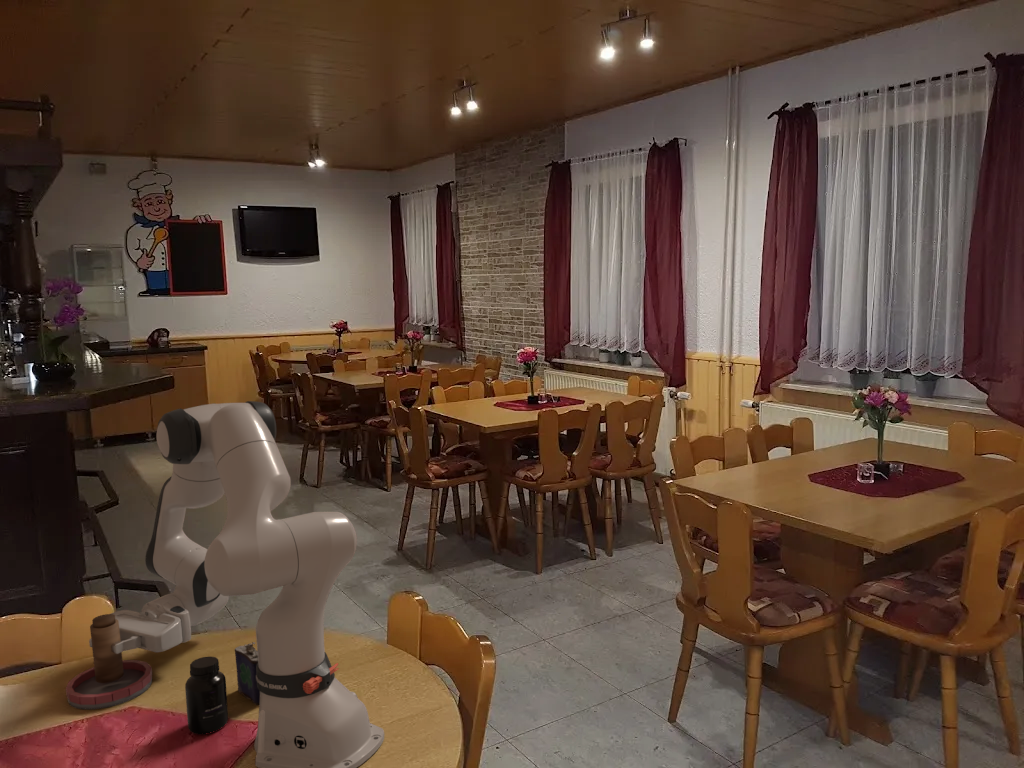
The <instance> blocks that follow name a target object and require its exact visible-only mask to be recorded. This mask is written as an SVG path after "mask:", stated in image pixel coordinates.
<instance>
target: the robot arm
mask: <svg viewBox="0 0 1024 768" xmlns="http://www.w3.org/2000/svg"><path fill="white" fill-rule="evenodd" d="M274 414H275V413H274V412H273V410H272V409H271V408H270V407H269V406H268V405H267V404H266V403H265V402H261V401H251V400H248V401H245V402H223V403H222V402H221V403H209V404H201V405H198V406H192V407H188V408H184V409H182V408H177V409H174V410H171V411H168V412H166V413H164V414H163V415H162V416H161V418H160V419H159V421H158V423H157V427H156V429H157V430H156V443H157V447H158V449H159V451H160V453H161V455H162V457H163V458H164V459H165V460H166V461H167V462H169V463H170V464H172V474H171V476H169V478H167V479H166V480H165V481H164V484H163V485H162V487H161V490H160V493H159V497H158V502H157V508H156V513H155V519H154V523H153V530H152V534H151V539H150V541H149V544H148V546H147V548H146V551H145V558H144V560H145V566H146V568H147V570H148V571H149V572H150V573H152V574H153V575H156V576H157V577H160V578H162V579H165V580H166V581H168V582H169V583H171V584H173V585H175V586H174V590H173V592H171V593H167V594H165V595H163V596H160V597H158V598H155V599H153V600H151V601H149V602H147V603H145V604H144V605H143V606H142V609H141V611H140V612H138V611H134V610H130V609H123V610H117V611H114V612H112V613H110V614H113V615H115V619H117V620H118V621H119V631H120V641H117V642H115V643H113V644H112V645H111V652H113V653H116V654H118V653H120V652H125V651H130V650H135V649H141V650H145V651H150V652H152V653H153V652H154V653H161V652H165V651H168V650H170V649H172V648H174V647H176V646H179V645H180V644H181V643H182V644H183V643H187V642H189V641H191V639H192V628H191V627H194V626H195V627H196V626H197V625H199V624H201V623H203V622H205V621H207V620H209V619H211V618H212V617H214V616H215V615H217V614H218V613H219V612H220V611H221V610H223V609H224V607H225V606H226V605H227V604H228V601H229V599H230V597H237V596H248V595H255V594H260V593H262V592H266V591H270V590H274V589H276V588H280V587H281V588H282V589H281V590H280V592H279V594H278V595H277V596H276V598H275V599H274V600H273V601H272V602H271V603H270V604H268V606H266V607H265V608H264V609H263V611H262V612H261V613H260V615H259V617H258V619H257V622H256V625H255V637H256V651H257V652H258V664H257V666H256V680H257V687H258V689H259V691H260V703H259V705H258V722H257V731H256V737H255V740H254V745H253V747H254V750H255V752H256V756H255V767H257V768H358V767H360V766H361V765H362V764H364V763H365V762H366V761H368V760H369V758H371V757H372V756H373V755H374V754H375V753H376V752H377V750H379V748H380V747H381V746H382V744H383V742H384V740H385V730H384V729H383V727H380V726H378V725H375V724H373V723H372V722H370V716H369V712H368V709H367V707H366V704H365V703H364V702H363V701H362V700H360V699H359V698H358V695H357V694H356V692H354V691H351V690H349V688H347V687H346V686H345V685H344V684H343V683H342V682H341V681H339V679H337V677H336V675H335V673H336V671H338V670H339V669H340V668H339V667H338V666H339V663H338V662H337V663H335V664H334V665H332V663H331V661H330V659H329V657H328V654H327V653H326V650H325V628H324V627H325V624H324V623H325V622H324V621H325V611H326V606H327V602H328V599H329V595H330V592H331V591H332V588H333V586H334V584H335V582H336V581H337V579H338V577H339V575H340V574H341V572H342V571H343V570H344V569H345V568H346V567H347V566H348V564H349V563H351V561H352V560H353V559H354V556H355V553H356V551H357V546H358V545H357V544H358V537H357V532H356V529H355V527H354V524H353V523H352V521H351V520H350V519H349V517H347V516H346V514H344V513H342V512H340V511H313V512H308V513H302V514H298V515H294V516H290V517H286V518H278V519H276V518H274V517H273V515H272V511H273V510H275V509H276V508H277V507H279V506H280V505H281V504H282V503H283V502H284V500H286V498H287V497H288V495H289V493H290V490H291V484H292V482H291V481H292V479H291V476H290V473H289V471H288V469H287V467H286V465H285V462H284V459H283V457H282V455H281V452H280V450H279V447H278V445H277V443H276V437H277V422H276V417H275V415H274ZM223 496H225V500H226V506H227V514H226V519H225V522H224V525H223V527H222V529H221V530H220V532H219V533H218V535H216V537H215V538H214V539H213V540H212V541H211V542H210V543H209V546H208V547H207V548H206V547H204V546H202V545H200V544H199V543H197V542H195V541H194V540H192V539H191V538H189V537H188V536H187V535H186V533H185V532H184V529H183V527H184V521H185V516H186V512H187V509H201V508H205V507H208V506H210V505H213V504H215V503H216V502H218V501H219V500H221V499H222V498H223ZM88 642H89V647H90V648H92V641H91V638H89V640H88Z"/></svg>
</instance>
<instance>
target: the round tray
mask: <svg viewBox="0 0 1024 768" xmlns="http://www.w3.org/2000/svg"><path fill="white" fill-rule="evenodd" d="M122 661H123V671H124V675H123V676H122V677H121V678H119V679H117V680H115V681H112V682H108V683H98V682H96V678H95V669H94V666H93V667H90V668H89V669H86V670H84V671H82V672H80V673H78V674H77V675H75V676H74V677H73V678H71V679H70V680H69V681H68V683H67V685H66V687H65V695H66V697H67V704H68V705H69V706H70V707H72V708H75V709H79V710H87V711H88V710H89V711H90V710H101V709H106V708H111V707H115V706H119V705H122V704H124V703H126V702H129V701H131V700H133V699H135V698H138V697H139V696H141V695H142V694H143V693H145V692H146V691H148V690H149V688H150V687H151V685H152V683H153V669H152V666H151V665H150V664H149V663H148V662H147V661H143V660H140V659H122Z"/></svg>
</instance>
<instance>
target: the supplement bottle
mask: <svg viewBox="0 0 1024 768" xmlns="http://www.w3.org/2000/svg"><path fill="white" fill-rule="evenodd" d="M219 663H220V661H219V659H218V658H217V657H216V656H202V657H198V658H196V659H193V661H191V662H190V664H189V675H190V677H188V678H187V680H186V682H185V686H184V687H185V701H186V715H187V716H186V717H187V719H186V720H187V727H188V730H189V731H190V733H192V734H194V735H207V734H206V733H209V734H211V733H210V732H213V731H216V730H218V729H220V728H221V727H223V726H224V725H225V724H226V725H227V723H228V721H229V711H228V710H229V709H228V695H227V682H226V681H227V680H226V679H227V678H226V676H225V674H224V673H223V672H222V671H220V665H219ZM226 725H225V726H226ZM225 726H224V727H225ZM224 727H223V728H224ZM221 729H222V728H221ZM221 729H220V730H221ZM218 731H219V730H218ZM216 732H217V731H216ZM213 733H214V732H213Z"/></svg>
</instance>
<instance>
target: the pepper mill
mask: <svg viewBox="0 0 1024 768" xmlns="http://www.w3.org/2000/svg"><path fill="white" fill-rule="evenodd" d="M89 627H90V628H89V630H90V639H91V641H92V647H91V649H92V659H93V667H94V669H95V678H96V682H98V683H108V682H112V681H115V680H117V679H119V678H121V677H122V676H123V675H124V671H123V661H122V660H123V653H122V652H120V653H118V654H116V653H113V652H111V645H112V644H113V643H115V642H117V641H120V631H119V621H118V620H117V619H115V615H113V614H111V613H105V614H102V615H101V614H100V615H98V616H96V617H94V618H93V619H92V624H90V626H89Z"/></svg>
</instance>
